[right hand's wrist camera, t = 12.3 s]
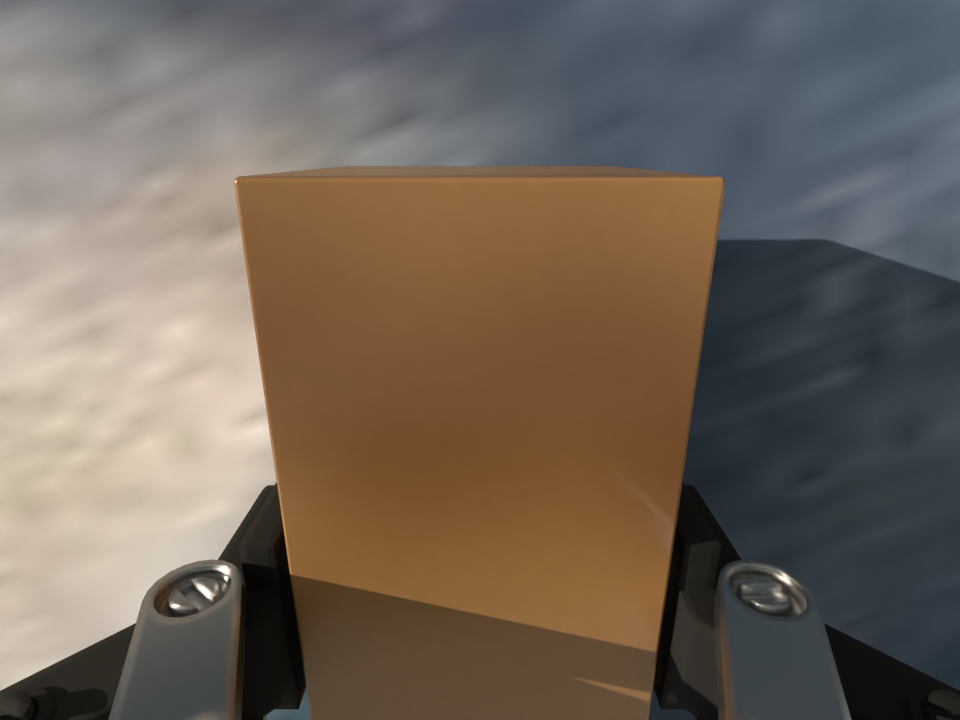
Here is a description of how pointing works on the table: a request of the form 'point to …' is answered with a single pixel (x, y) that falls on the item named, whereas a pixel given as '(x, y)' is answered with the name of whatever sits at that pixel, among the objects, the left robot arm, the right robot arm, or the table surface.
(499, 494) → the beam
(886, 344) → the table surface
